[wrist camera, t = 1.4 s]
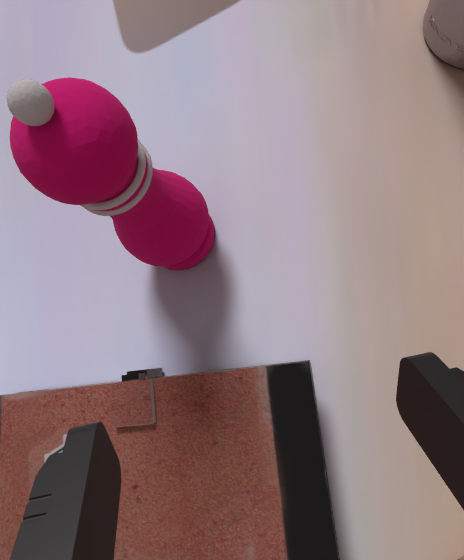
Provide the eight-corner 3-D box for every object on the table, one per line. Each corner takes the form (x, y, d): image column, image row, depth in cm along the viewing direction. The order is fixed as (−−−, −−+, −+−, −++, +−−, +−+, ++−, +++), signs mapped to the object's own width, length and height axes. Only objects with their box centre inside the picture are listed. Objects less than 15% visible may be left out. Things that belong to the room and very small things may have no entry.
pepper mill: (230, 261, 33) (115, 135, 14) (152, 286, 34) (-53, 200, 15) (209, 187, 35) (81, -17, 16) (136, 212, 36) (-68, 50, 17)
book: (308, 351, 31) (307, 350, 26) (345, 600, 28) (352, 653, 23) (20, 384, 36) (-26, 389, 31) (20, 601, 32) (-32, 645, 27)
